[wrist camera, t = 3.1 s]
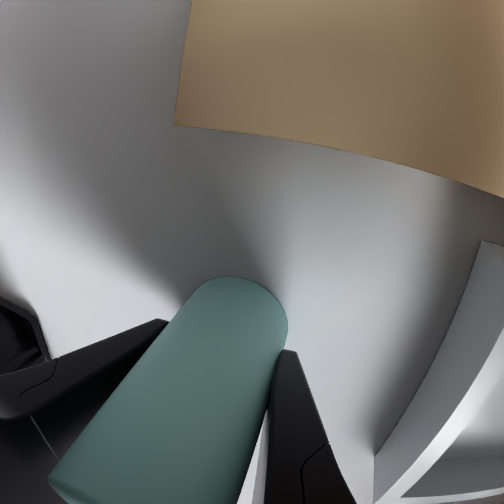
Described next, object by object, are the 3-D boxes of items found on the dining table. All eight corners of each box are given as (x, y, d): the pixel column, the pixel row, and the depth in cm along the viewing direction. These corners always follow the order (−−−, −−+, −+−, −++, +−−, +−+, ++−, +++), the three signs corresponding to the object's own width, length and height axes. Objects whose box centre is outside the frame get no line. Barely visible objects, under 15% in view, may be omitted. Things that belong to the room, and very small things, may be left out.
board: (216, 125, 8) (173, 125, 6) (250, -79, 5) (225, -123, 3) (541, 209, 6) (588, 237, 4) (555, 11, 4) (595, -5, 1)
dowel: (189, 349, 11) (80, 516, 4) (188, 266, 9) (19, 447, 3) (279, 371, 10) (215, 573, 4) (295, 288, 9) (214, 546, 3)
